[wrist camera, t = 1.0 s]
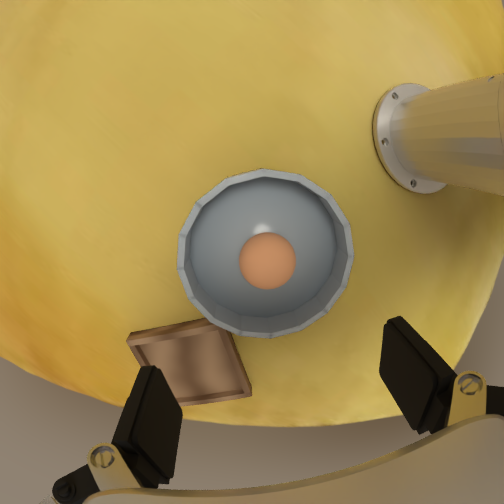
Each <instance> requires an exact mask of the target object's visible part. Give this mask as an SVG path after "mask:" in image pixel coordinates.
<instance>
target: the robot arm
mask: <svg viewBox="0 0 504 504" xmlns="http://www.w3.org/2000/svg"><path fill="white" fill-rule="evenodd" d="M373 136H374V141H375V146H376V149H377V152H378V155H379V158H380V160H381V162H382V164H383V166H384V168H385V169H386V170H387V172H388V173H389V175H390V176H391V177H392V178H393V179H394V180H395V181H396V182H397V183H398V184H400V185H401V186H402V187H404V188H405V189H408V190H410V191H413V192H417V193H421V194H430V193H434V192H437V191H439V190H441V189H443V188H444V187H445V186H446V185H447V184H451V185H456V186H461V187H466V188H470V189H475V190H480V191H484V192H488V193H492V194H496V195H500V196H504V73H503V74H498V75H492V76H487V77H482V78H477V79H473V80H468V81H464V82H460V83H456V84H452V85H448V86H444V87H440V88H437V89H433V90H430V89H428V88H427V87H424V86H422V85H419V84H413V83H406V84H401V85H398V86H395V87H393V88H392V89H390V90H388V91H387V92H386V93H385V94H384V95H383V96H382V98H381V99H380V101H379V103H378V104H377V107H376V110H375V113H374V120H373ZM382 142H383V144H382ZM379 373H380V377H381V378H382V380H383V382H384V383H385V385H386V386H387V388H388V390H389V391H390V393H391V395H392V396H393V398H394V400H395V401H396V403H397V405H398V406H399V408H400V410H401V411H402V413H403V415H404V416H405V418H406V420H407V421H408V423H409V425H410V427H411V428H412V429H413V430H417V432H418V434H422V433H424V432H426V431H428V430H429V431H430V433H431V435H429V436H428V437H425V438H423V439H421V440H419V441H417V442H415V443H413V444H410V445H408V446H406V447H403V448H401V449H399V450H396V451H394V452H392V453H389V454H387V455H384V456H382V457H379V458H376V459H373V460H371V461H368V462H365V463H362V464H359V465H356V466H353V467H350V468H346V469H343V470H339V471H336V472H333V473H329V474H325V475H321V476H317V477H312V478H308V479H303V480H299V481H293V482H288V483H281V484H276V485H269V486H260V487H251V488H241V489H226V490H169V489H157V488H158V484H169V480H170V478H173V475H174V469H175V462H176V455H177V448H178V442H179V435H180V429H181V423H182V416H183V414H182V409H181V407H180V405H179V404H178V402H177V400H176V398H175V396H174V394H173V392H172V390H171V389H170V387H169V385H168V383H167V381H166V379H165V377H164V375H163V373H162V371H161V369H160V368H157V367H156V366H155V365H150V366H142V367H141V368H140V370H139V373H138V375H137V378H136V380H135V383H134V385H133V388H132V391H131V393H130V396H129V397H128V399H127V401H126V404H125V406H124V409H123V412H122V414H121V417H120V420H119V423H118V425H117V428H116V431H115V434H114V436H113V439H112V442H111V444H109V443H101V444H97V445H96V446H94V447H93V448H92V449H91V450H90V451H89V453H88V455H87V462H88V464H86V465H85V466H83V467H81V468H79V469H77V470H76V471H74V472H72V473H70V474H68V475H66V476H64V477H62V478H60V479H58V480H57V481H56V482H55V484H54V486H53V490H52V493H53V496H52V497H51V496H50V495H48V496H47V497H46V498H45V499H44V500H43V501H41V502H40V503H39V504H504V387H498V386H489V385H486V380H485V379H484V377H483V376H482V375H480V374H479V373H477V372H474V371H465V372H463V373H461V374H459V375H457V374H456V373H455V372H454V371H453V370H452V369H451V367H450V366H449V365H448V364H447V363H446V362H445V361H444V360H443V359H442V358H441V356H440V355H439V354H438V353H437V352H436V351H435V350H434V349H433V348H432V347H431V346H430V345H429V344H428V343H427V341H425V340H424V339H423V338H422V337H421V336H420V335H419V334H418V333H417V332H416V331H415V330H414V329H413V328H412V327H411V326H410V324H409V323H408V322H407V321H406V320H405V319H404V318H403V317H401V316H397V317H394V318H391V319H389V320H388V321H387V324H385V325H384V329H383V341H382V351H381V359H380V367H379Z"/></svg>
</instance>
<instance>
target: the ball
mask: <svg viewBox="0 0 504 504" xmlns="http://www.w3.org/2000/svg"><path fill="white" fill-rule="evenodd" d="M239 267H240V270H241V273H242V275H243V276H244V278H245V279H246V280H247V281H248V282H249V283H250V284H251V285H253V286H255V287H257V288H260V289H275V288H278V287H280V286H282V285H284V284H285V283H286V282H287V281H288V280H289V279H290V278H291V276H292V275H293V272H294V270H295V267H296V255H295V252H294V249H293V247H292V245H291V244H290V243H289V242H288V241H287V240H286V239H285V238H284V237H282V236H281V235H278V234H275V233H271V232H264V233H259V234H256V235H254V236H253V237H251V238H250V239H249V240H247V242H246V243H245V244H244V245H243V247H242V249H241V252H240V255H239Z"/></svg>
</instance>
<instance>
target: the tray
mask: <svg viewBox="0 0 504 504" xmlns="http://www.w3.org/2000/svg"><path fill="white" fill-rule="evenodd" d="M126 342H127V344H128V346H129V347H130V349H131V351H132V353H133V354H134V356H135V358H136V359H137V361H138V363H139V365H140V366H141V367H142V366H150V365H155V366H156V367H157V368H160V369H161V371H162V373H163V375H164V377H165V379H166V381H167V383H168V385H169V387H170V389H171V390H172V392H173V394H174V396H175V398H176V400H177V402H178V404H179V405H180V406H190V405H198V404H207V403H214V402H221V401H227V400H233V399H239V398H245V397H250V396H252V387H251V384H250V382H249V379H248V377H247V374H246V372H245V369H244V367H243V364H242V361H241V359H240V356H239V354H238V351H237V348H236V346H235V343H234V340H233V338H232V335H231V332H230V331H228V330H225V329H223V328H221V327H219V326H217V325H215V324H213V323H211V322H210V321H209V320H208V319H207V318H202V319H198V320H193V321H188V322H184V323H179V324H174V325H169V326H164V327H159V328H153V329H148V330H143V331H137V332H132V333H130V335H129V337H128V338H127V340H126Z"/></svg>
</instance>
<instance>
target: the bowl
mask: <svg viewBox="0 0 504 504" xmlns="http://www.w3.org/2000/svg"><path fill="white" fill-rule="evenodd" d="M264 232H271V233H275V234H278V235H281V236H282V237H284V238H285V239H286V240H287V241H288V242H289V243H290V244H291V245H292V247H293V249H294V252H295V255H296V267H295V270H294V272H293V275H292V276H291V278H290V279H289V280H288V281H287V282H286V283H285V284H284V285H282V286H280V287H278V288H275V289H260V288H257V287H255V286H253V285H251V284H250V283H249V282H248V281H247V280H246V279H245V278H244V276H243V275H242V273H241V270H240V267H239V255H240V252H241V249H242V247H243V245H244V244H245V243H246V242H247V240H249V239H250V238H251V237H253V236H254V235H256V234H259V233H264ZM353 260H354V250H353V243H352V236H351V229H350V223H349V222H348V220H347V219H346V217H345V215H344V214H343V212H342V210H341V209H340V207H339V206H338V204H337V203H336V201H335V199H334V198H333V196H332V195H331V194H330V193H328V192H327V191H325V190H324V189H322V188H321V187H319V186H318V185H316V184H315V183H313V182H311V181H310V180H308V179H307V178H305V177H304V176H302V175H300V174H294V173H288V172H282V171H275V170H269V169H263V168H260V169H256V170H252V171H248V172H244V173H241V174H237V175H233V176H230V177H227V178H225V179H224V180H223V181H222V182H220V183H219V184H218V185H217V186H215V187H214V188H213V189H212V190H210V191H209V192H208V193H206V194H205V195H204V196H203V197H202V198H200V199H199V200H198V201H197V202H196V203H195V205H194V207H193V209H192V210H191V212H190V214H189V216H188V218H187V220H186V222H185V224H184V226H183V228H182V230H181V232H180V233H179V241H178V258H177V270H178V273H179V276H180V278H181V281H182V284H183V286H184V289H185V292H186V294H187V297H188V299H189V300H190V302H191V303H192V304H193V305H194V306H195V307H196V308H197V309H198V310H199V311H200V312H201V313H202V314H203V315H204V316H205V317H206V318H207V319H208V320H209V321H210V322H211V323H213V324H215V325H217V326H219V327H221V328H223V329H225V330H228V331H230V332H232V333H234V334H236V335H239V336H246V337H258V338H275V337H279V336H282V335H286V334H290V333H294V332H298V331H301V330H303V329H304V328H306V327H307V326H309V325H310V324H312V323H313V322H315V321H316V320H318V319H319V318H321V317H322V316H324V315H325V314H327V313H328V311H329V310H330V309H331V307H332V306H333V305H334V303H335V302H336V301H337V299H338V298H339V296H340V295H341V294H342V292H343V291H344V289H345V288H346V286H347V282H348V279H349V275H350V271H351V267H352V263H353Z"/></svg>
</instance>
